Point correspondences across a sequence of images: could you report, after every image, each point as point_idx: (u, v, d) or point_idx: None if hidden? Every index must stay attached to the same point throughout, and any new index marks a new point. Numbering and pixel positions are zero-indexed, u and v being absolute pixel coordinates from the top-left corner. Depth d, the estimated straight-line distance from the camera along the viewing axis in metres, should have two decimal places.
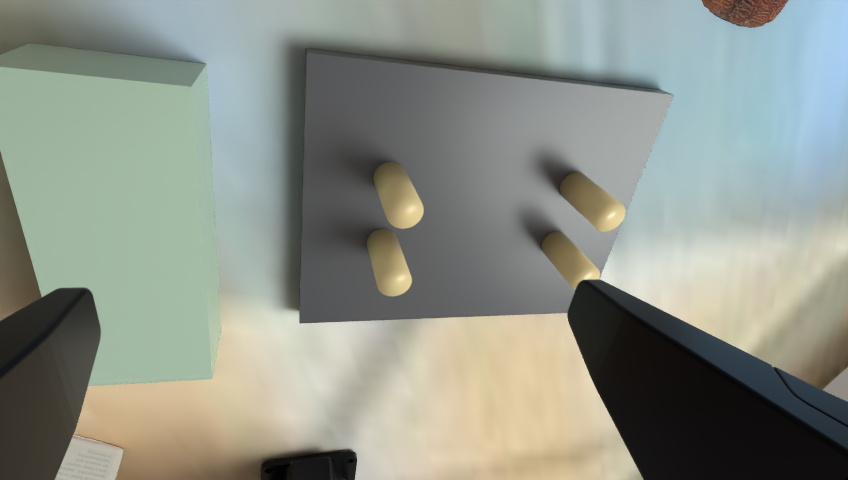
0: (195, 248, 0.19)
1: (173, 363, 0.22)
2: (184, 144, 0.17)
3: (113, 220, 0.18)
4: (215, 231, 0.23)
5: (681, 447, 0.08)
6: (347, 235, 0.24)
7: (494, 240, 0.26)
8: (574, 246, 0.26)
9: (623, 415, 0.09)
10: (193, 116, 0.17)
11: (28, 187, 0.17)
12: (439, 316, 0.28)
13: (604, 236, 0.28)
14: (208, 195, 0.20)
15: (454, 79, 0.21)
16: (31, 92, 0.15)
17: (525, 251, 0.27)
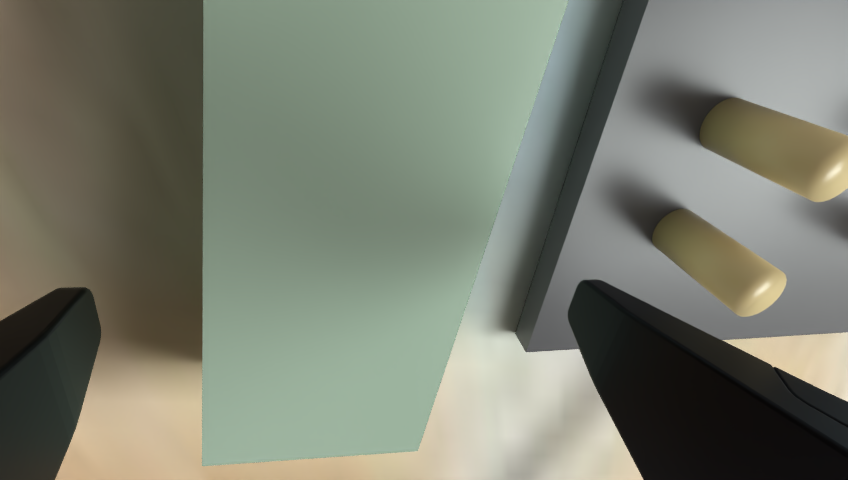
0: (477, 240, 0.11)
1: (372, 428, 0.13)
2: (538, 35, 0.09)
3: (367, 180, 0.09)
4: None
5: (681, 447, 0.08)
6: (632, 219, 0.15)
7: (813, 228, 0.18)
8: None
9: (623, 415, 0.09)
10: None
11: (236, 97, 0.08)
12: None
13: None
14: None
15: None
16: None
17: (842, 246, 0.18)
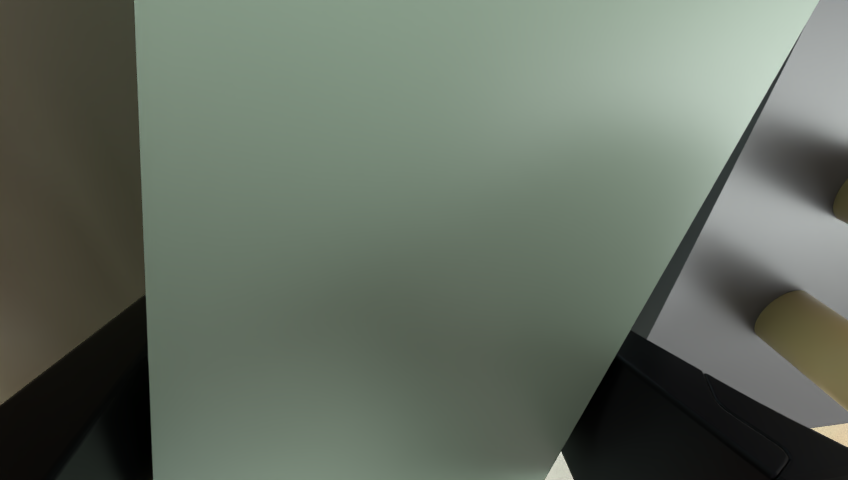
0: (575, 400, 0.07)
1: None
2: (725, 116, 0.05)
3: (423, 338, 0.06)
4: None
5: (611, 457, 0.07)
6: (734, 306, 0.12)
7: None
8: None
9: None
10: (805, 18, 0.05)
11: (206, 231, 0.04)
12: None
13: None
14: None
15: None
16: None
17: None
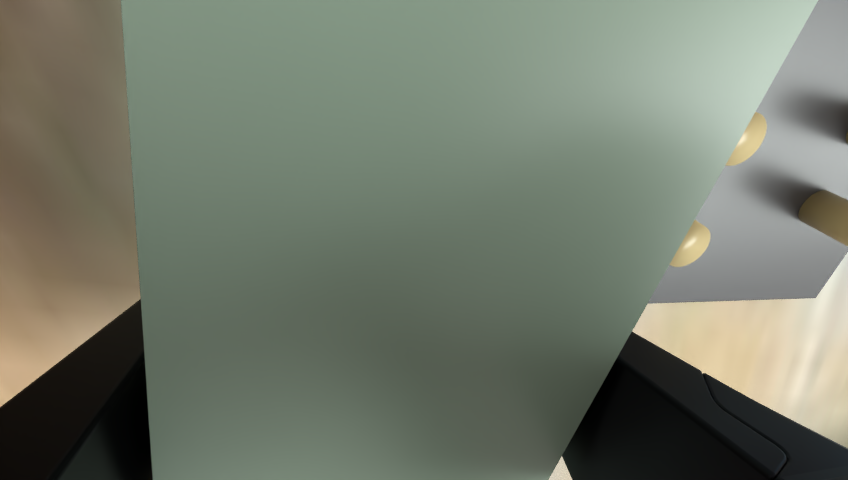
0: (578, 400, 0.07)
1: None
2: (727, 111, 0.05)
3: (422, 340, 0.06)
4: None
5: (609, 457, 0.07)
6: None
7: (751, 200, 0.20)
8: None
9: None
10: (809, 10, 0.05)
11: (200, 235, 0.04)
12: (658, 301, 0.22)
13: None
14: None
15: None
16: None
17: (780, 217, 0.21)
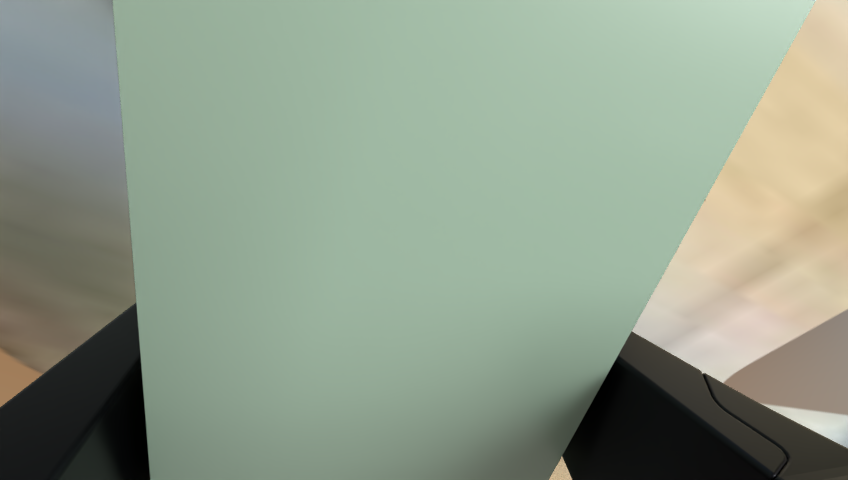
0: (577, 401, 0.07)
1: None
2: (726, 110, 0.05)
3: (420, 341, 0.06)
4: None
5: (609, 457, 0.07)
6: None
7: None
8: None
9: None
10: (808, 8, 0.05)
11: (196, 238, 0.04)
12: None
13: None
14: None
15: None
16: None
17: None
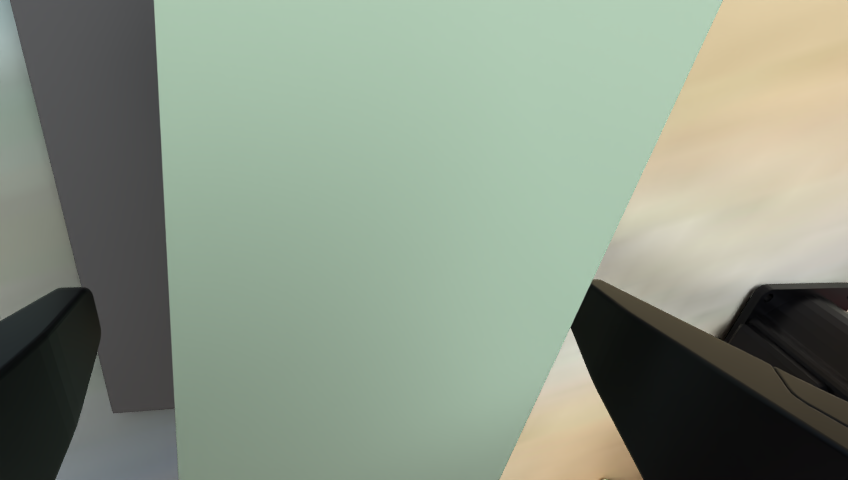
0: (548, 346, 0.08)
1: None
2: (660, 80, 0.06)
3: (405, 283, 0.07)
4: None
5: (681, 447, 0.08)
6: None
7: None
8: None
9: (623, 415, 0.09)
10: None
11: (215, 186, 0.05)
12: None
13: None
14: None
15: (90, 256, 0.13)
16: None
17: None
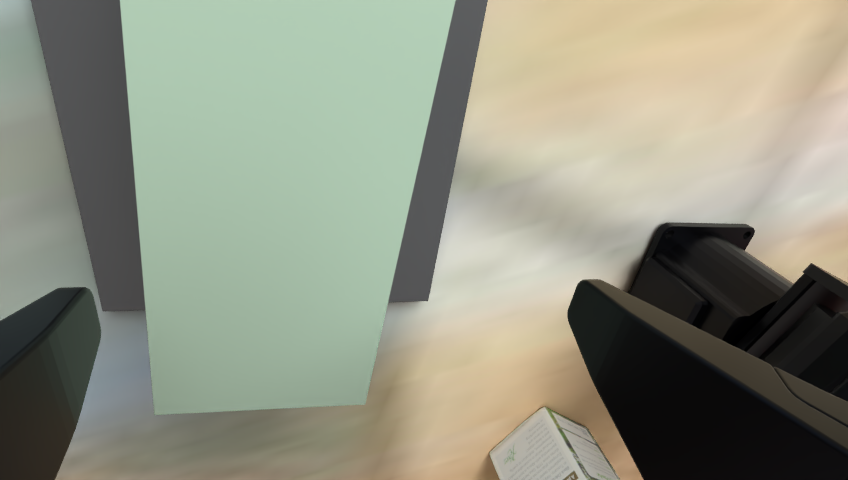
0: (401, 193, 0.12)
1: (318, 380, 0.14)
2: None
3: (288, 131, 0.10)
4: None
5: (681, 447, 0.08)
6: None
7: None
8: None
9: (623, 415, 0.09)
10: None
11: (156, 50, 0.09)
12: (456, 147, 0.20)
13: None
14: None
15: (83, 169, 0.17)
16: None
17: None
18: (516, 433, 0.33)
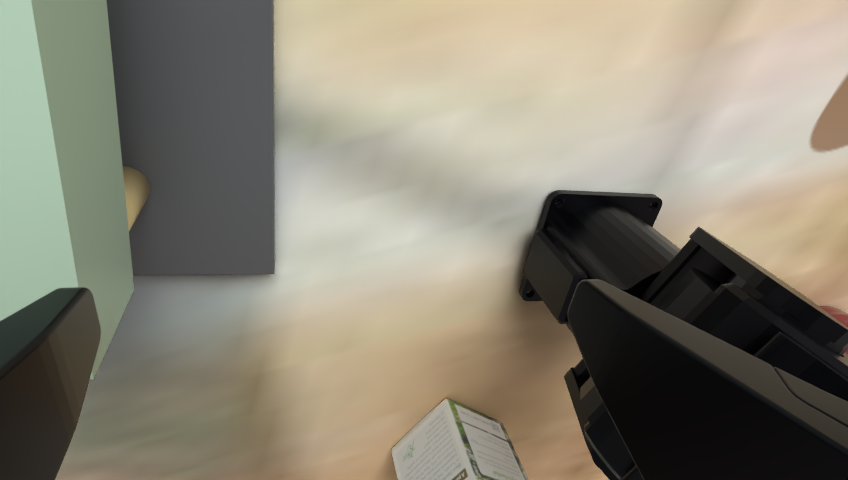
0: (30, 96, 0.09)
1: None
2: None
3: None
4: (110, 109, 0.13)
5: (681, 447, 0.08)
6: None
7: None
8: None
9: (623, 415, 0.09)
10: None
11: None
12: (270, 89, 0.17)
13: None
14: (78, 8, 0.10)
15: None
16: None
17: None
18: (417, 427, 0.30)
